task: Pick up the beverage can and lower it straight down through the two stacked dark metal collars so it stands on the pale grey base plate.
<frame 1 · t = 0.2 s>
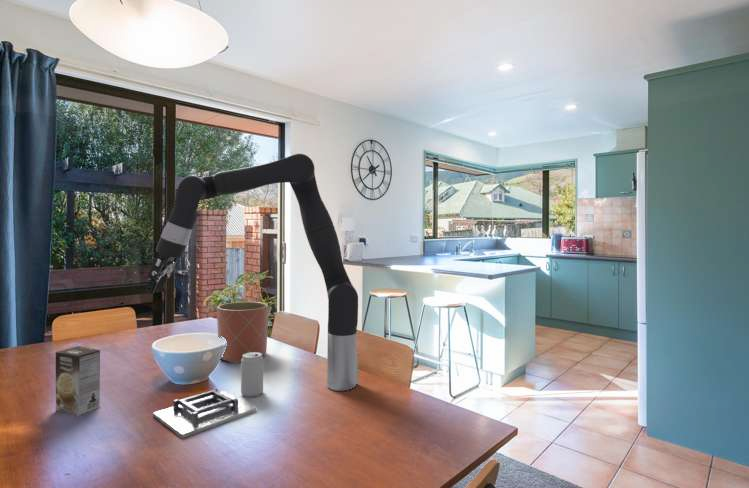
hand: (154, 290, 122), 31 cm above the table, tool tilted 20°, fingers open, 8 cm apart
planter: (242, 356, 161), on the table
collar stand: (205, 413, 110), on the table
beverage can: (252, 394, 124), on the table
coffee box: (78, 409, 112), on the table
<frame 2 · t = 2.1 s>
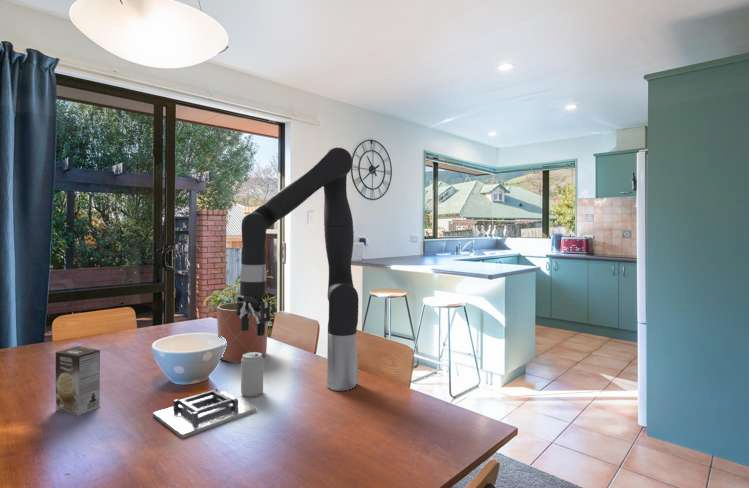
hand: (252, 333, 124), 18 cm above the table, tool pointing down, fingers open, 8 cm apart
nothing on the table moved.
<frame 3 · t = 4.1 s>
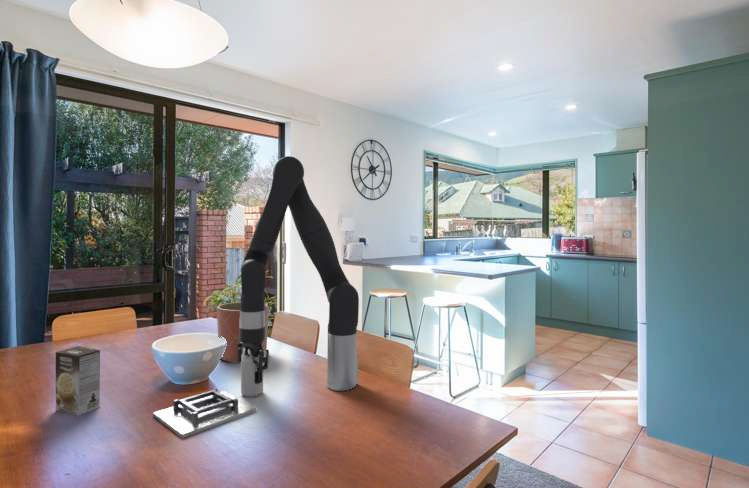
hand: (252, 380, 124), 4 cm above the table, tool pointing down, fingers closed on beverage can, 6 cm apart
beverage can: (252, 394, 124), on the table, touching gripper
everything else where it was.
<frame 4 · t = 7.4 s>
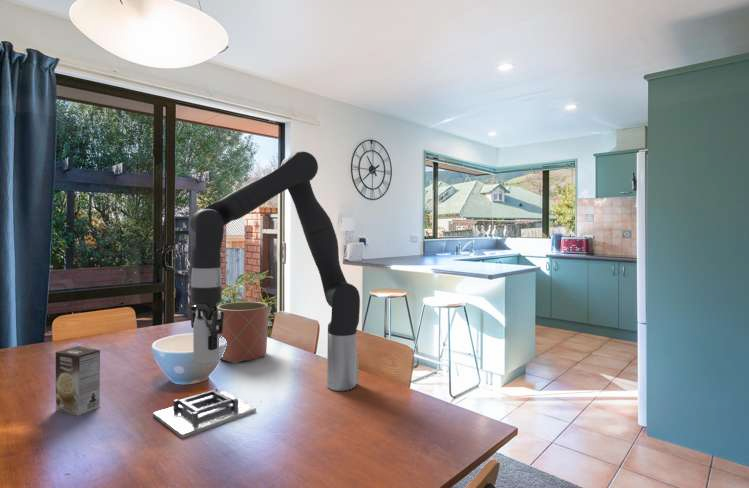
hand: (206, 346, 110), 18 cm above the table, tool pointing down, fingers closed on beverage can, 6 cm apart
beverage can: (206, 363, 110), point 14 cm above the table, touching gripper
everything else where it was.
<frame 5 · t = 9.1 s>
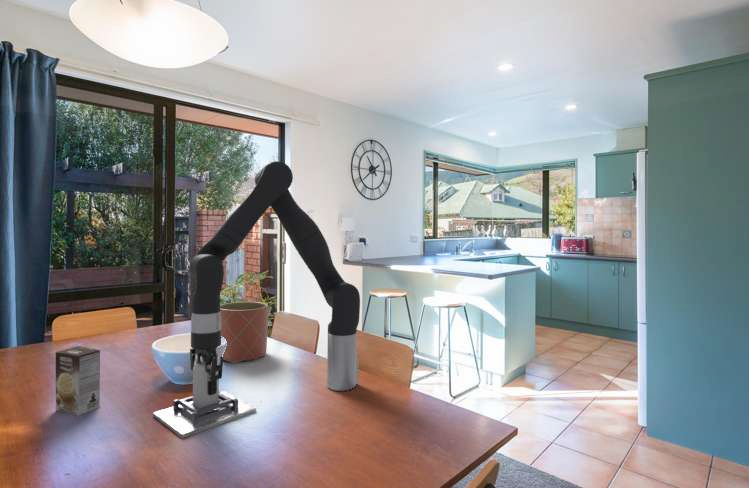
hand: (205, 390, 110), 6 cm above the table, tool pointing down, fingers closed on beverage can, 6 cm apart
beverage can: (205, 406, 110), point 2 cm above the table, touching gripper
everything else where it was.
when the fingers open (5 cm above the table, at t = 10.5 s): beverage can stays where it is, resting on collar stand.
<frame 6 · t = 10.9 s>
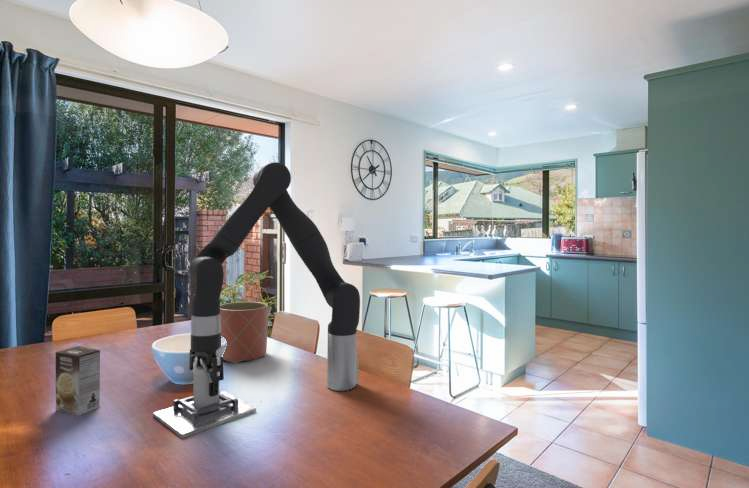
hand: (205, 391, 110), 6 cm above the table, tool pointing down, fingers open, 8 cm apart
beverage can: (206, 410, 110), point 1 cm above the table, touching collar stand
everything else where it was.
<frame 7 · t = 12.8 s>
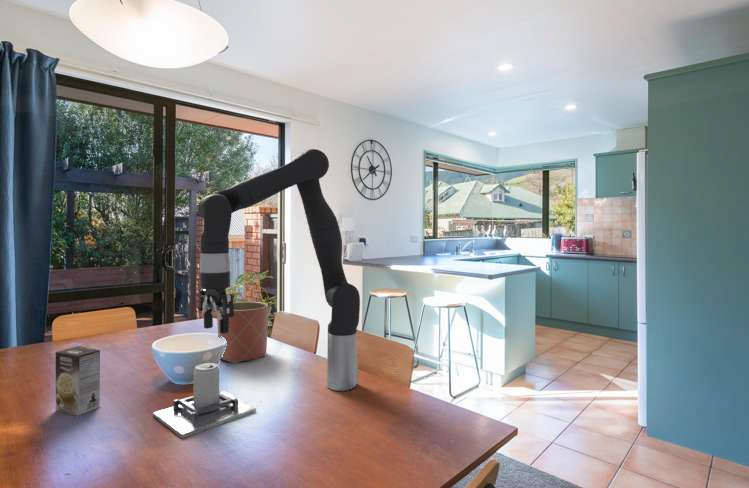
hand: (216, 330, 110), 22 cm above the table, tool pointing down, fingers open, 8 cm apart
nothing on the table moved.
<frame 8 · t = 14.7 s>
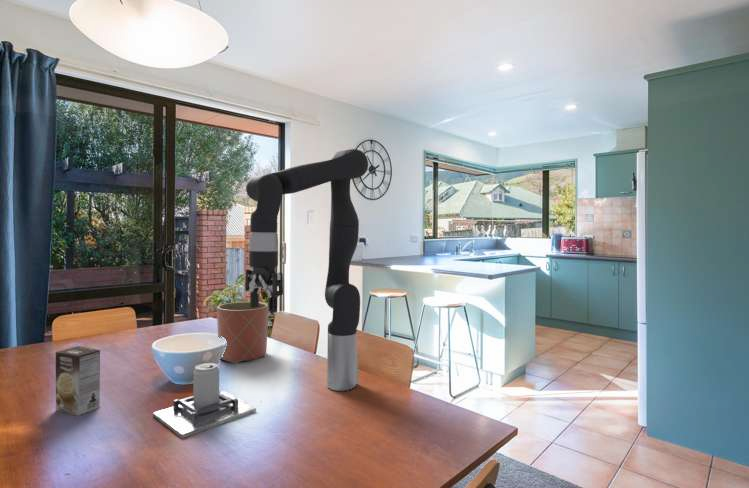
hand: (263, 309, 111), 28 cm above the table, tool pointing down, fingers open, 8 cm apart
nothing on the table moved.
at the end: beverage can 0.1 cm off-centre on the collar stand, point 0.8 cm above the collar stand's base; beverage can tilted 0°; the gripper is holding nothing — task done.
